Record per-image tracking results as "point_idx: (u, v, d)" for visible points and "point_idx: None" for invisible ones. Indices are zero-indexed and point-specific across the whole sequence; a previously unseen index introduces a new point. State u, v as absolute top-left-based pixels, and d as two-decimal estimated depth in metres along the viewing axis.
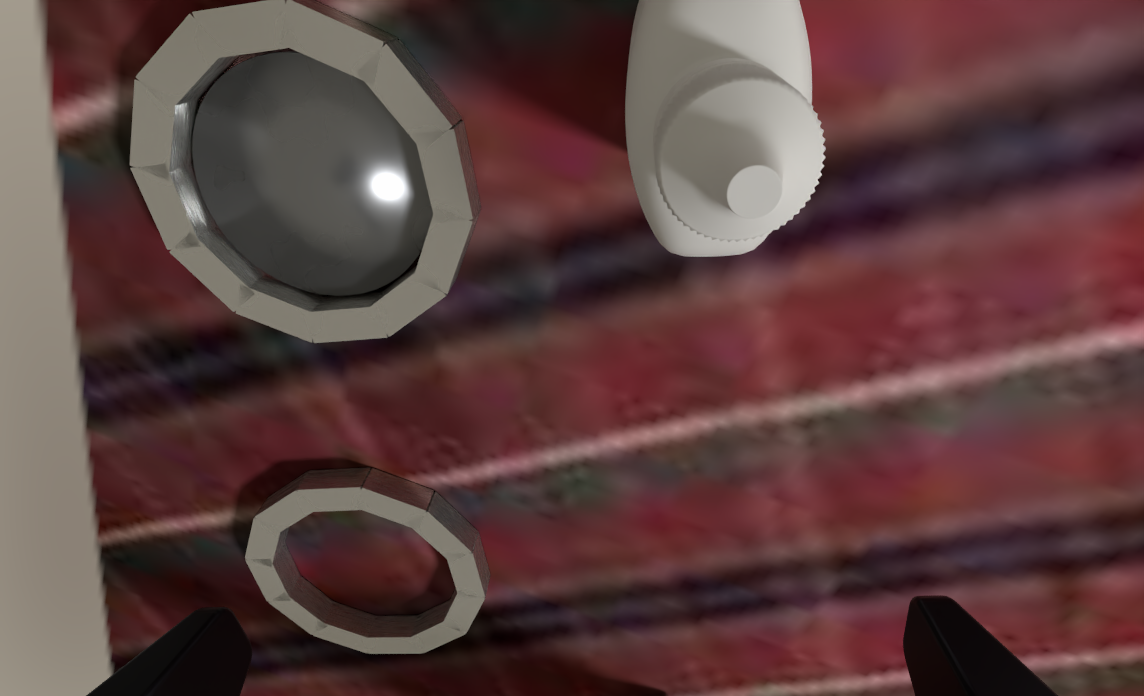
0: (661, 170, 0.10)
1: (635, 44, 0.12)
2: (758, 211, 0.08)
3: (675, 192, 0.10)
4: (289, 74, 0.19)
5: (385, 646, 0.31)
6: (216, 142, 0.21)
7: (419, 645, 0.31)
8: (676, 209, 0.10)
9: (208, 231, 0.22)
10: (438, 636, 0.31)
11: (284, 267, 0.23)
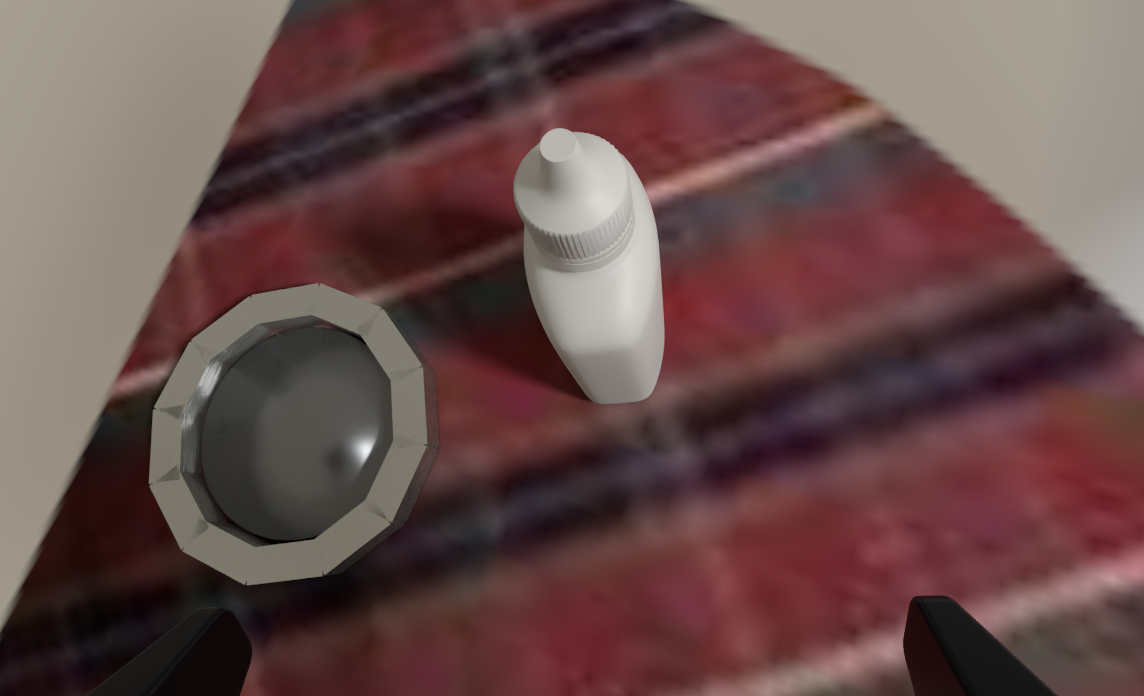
0: (515, 190, 0.14)
1: None
2: (562, 156, 0.12)
3: (525, 201, 0.13)
4: (307, 342, 0.25)
5: None
6: (231, 396, 0.25)
7: None
8: (527, 214, 0.13)
9: (192, 472, 0.24)
10: None
11: (247, 510, 0.24)
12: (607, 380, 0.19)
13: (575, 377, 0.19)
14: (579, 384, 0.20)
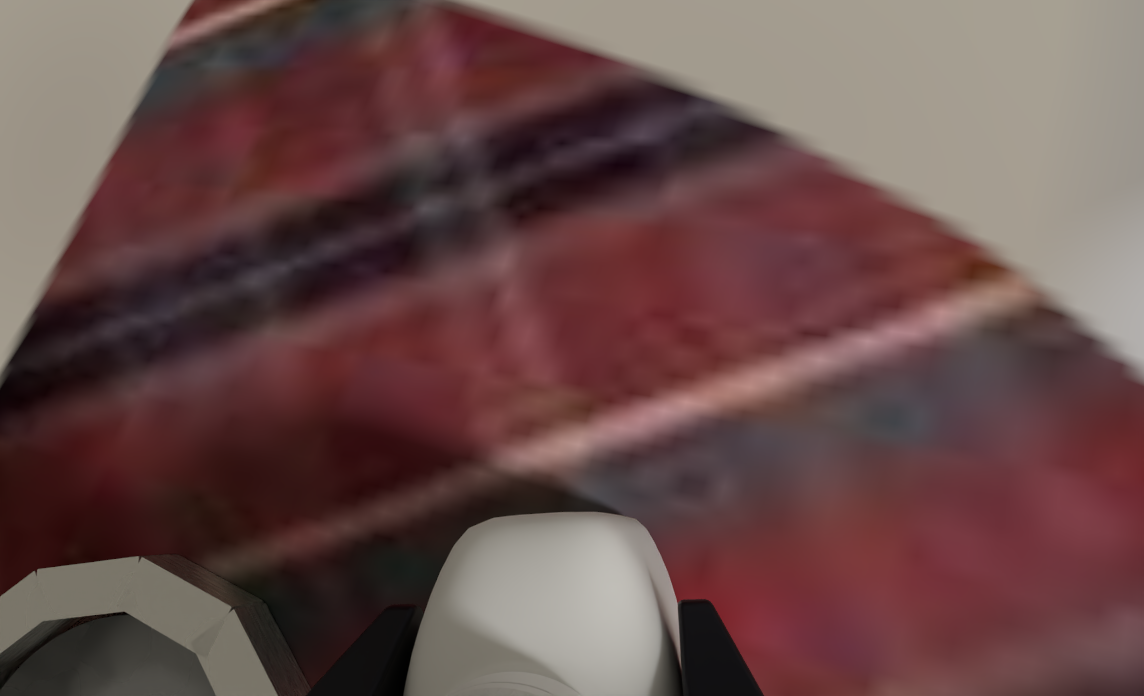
0: None
1: None
2: None
3: None
4: (126, 641, 0.16)
5: None
6: None
7: None
8: None
9: None
10: None
11: None
12: None
13: None
14: None
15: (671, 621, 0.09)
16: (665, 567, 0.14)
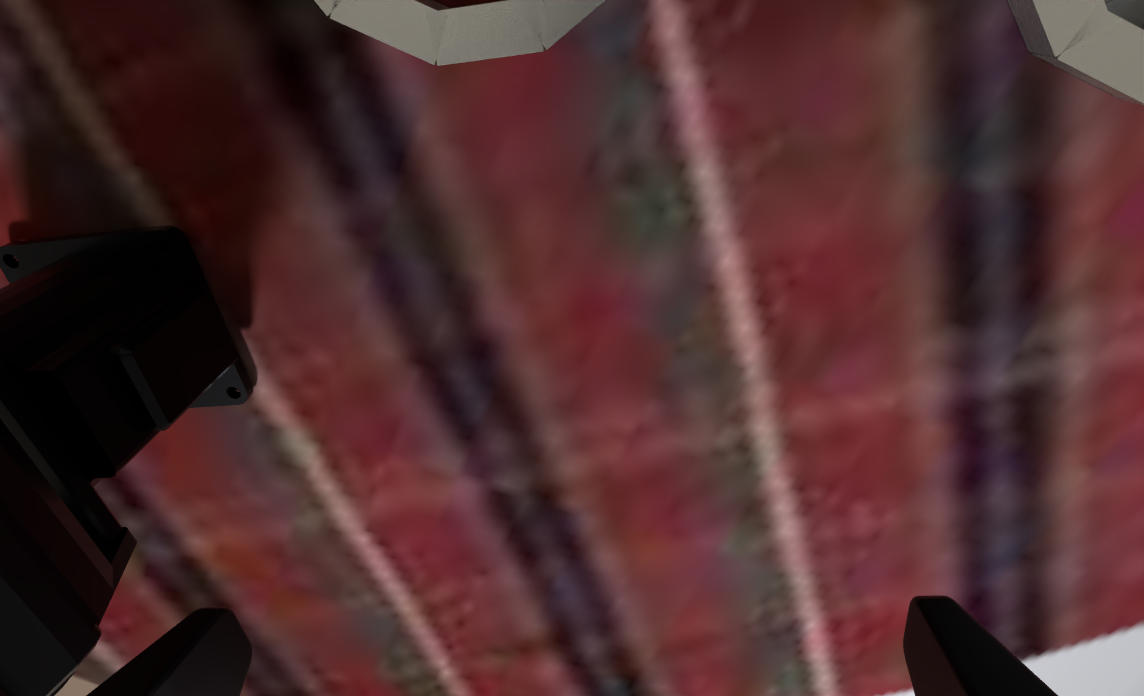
0: None
1: None
2: None
3: None
4: None
5: None
6: None
7: None
8: None
9: None
10: None
11: None
12: None
13: None
14: None
15: None
16: None
